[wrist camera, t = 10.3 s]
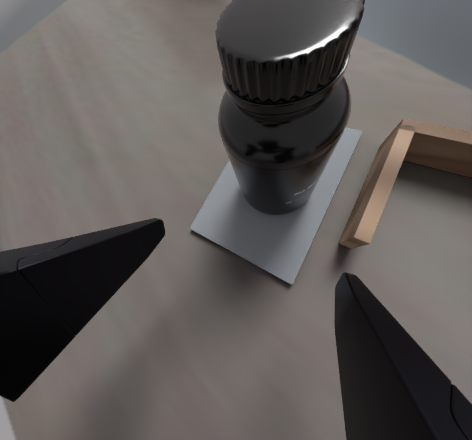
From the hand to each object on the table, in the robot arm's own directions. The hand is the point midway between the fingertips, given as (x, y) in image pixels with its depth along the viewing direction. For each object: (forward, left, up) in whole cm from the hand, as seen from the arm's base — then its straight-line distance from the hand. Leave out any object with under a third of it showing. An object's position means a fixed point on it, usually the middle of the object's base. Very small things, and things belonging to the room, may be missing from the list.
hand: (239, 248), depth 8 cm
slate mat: (+8, +2, -8) cm, 11 cm away
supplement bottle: (+7, +1, -8) cm, 11 cm away
